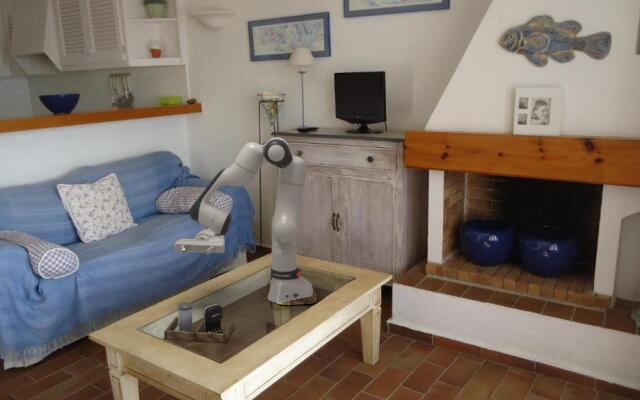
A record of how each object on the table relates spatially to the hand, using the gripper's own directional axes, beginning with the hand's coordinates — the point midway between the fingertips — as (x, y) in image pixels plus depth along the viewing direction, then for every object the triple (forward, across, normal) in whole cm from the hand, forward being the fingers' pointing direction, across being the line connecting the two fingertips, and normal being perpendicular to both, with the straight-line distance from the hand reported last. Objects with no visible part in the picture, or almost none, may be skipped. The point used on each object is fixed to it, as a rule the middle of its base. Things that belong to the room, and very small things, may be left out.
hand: (194, 251), depth 214 cm
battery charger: (+14, +11, +28) cm, 33 cm away
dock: (+14, +5, +28) cm, 31 cm away
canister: (+14, 0, +28) cm, 31 cm away
